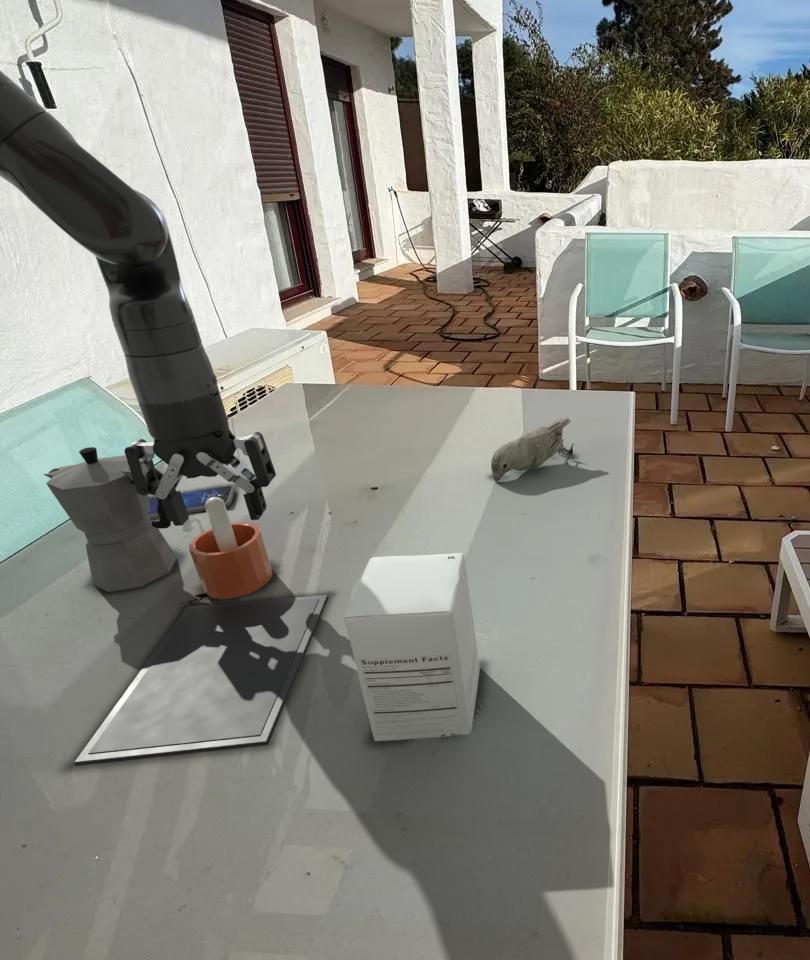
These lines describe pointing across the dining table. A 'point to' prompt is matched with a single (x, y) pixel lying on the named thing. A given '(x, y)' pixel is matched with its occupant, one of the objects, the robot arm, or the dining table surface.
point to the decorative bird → (530, 449)
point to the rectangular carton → (415, 646)
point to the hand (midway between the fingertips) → (220, 519)
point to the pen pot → (231, 562)
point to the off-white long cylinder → (220, 524)
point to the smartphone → (197, 499)
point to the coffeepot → (113, 521)
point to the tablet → (211, 681)
